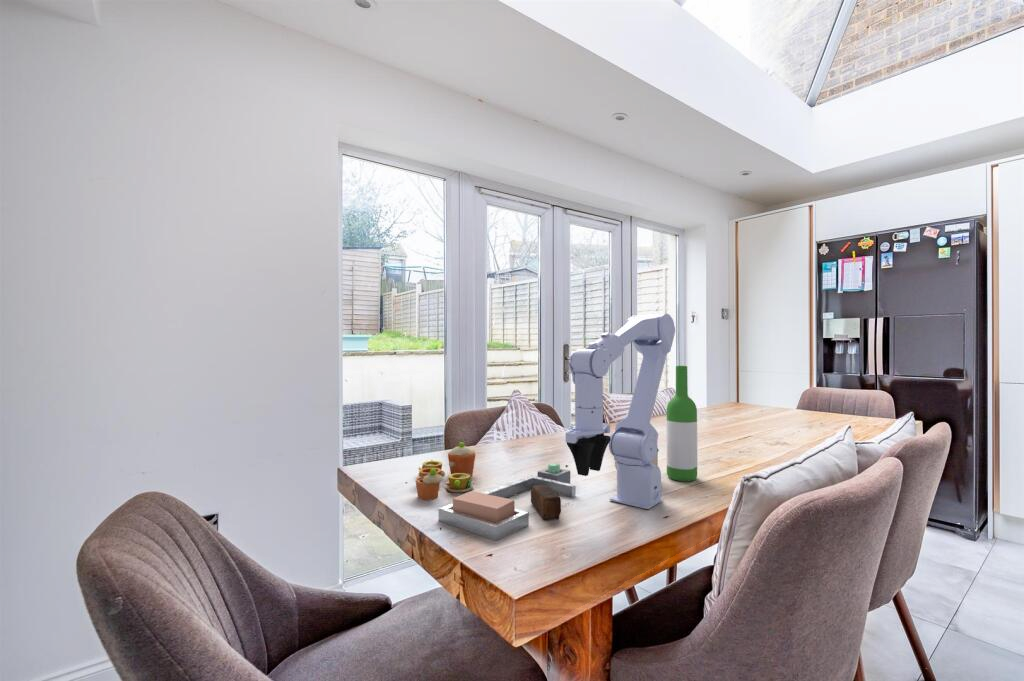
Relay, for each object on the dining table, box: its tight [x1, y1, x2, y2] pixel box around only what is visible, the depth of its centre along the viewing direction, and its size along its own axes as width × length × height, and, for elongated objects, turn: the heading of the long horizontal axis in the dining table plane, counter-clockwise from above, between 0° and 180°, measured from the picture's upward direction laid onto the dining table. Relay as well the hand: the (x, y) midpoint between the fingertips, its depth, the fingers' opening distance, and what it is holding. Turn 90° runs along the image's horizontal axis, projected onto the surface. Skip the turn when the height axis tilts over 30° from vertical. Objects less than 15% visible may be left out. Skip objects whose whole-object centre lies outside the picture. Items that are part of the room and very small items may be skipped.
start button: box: [547, 462, 561, 474], centre depth 122 cm, size 3×3×4 cm
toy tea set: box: [415, 441, 476, 501], centre depth 123 cm, size 26×16×10 cm, turn 5°
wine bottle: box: [666, 365, 698, 482], centre depth 128 cm, size 8×8×30 cm
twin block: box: [452, 490, 516, 523], centre depth 97 cm, size 6×11×5 cm, turn 57°
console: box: [537, 467, 571, 484], centre depth 122 cm, size 6×6×4 cm
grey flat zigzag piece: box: [438, 475, 577, 542], centre depth 105 cm, size 16×31×2 cm, turn 140°
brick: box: [530, 485, 562, 521], centre depth 103 cm, size 11×4×5 cm, turn 12°
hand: (589, 472), depth 99 cm, fingers open, 4 cm apart
